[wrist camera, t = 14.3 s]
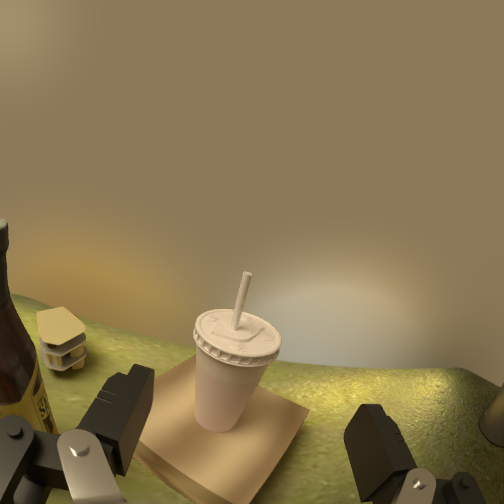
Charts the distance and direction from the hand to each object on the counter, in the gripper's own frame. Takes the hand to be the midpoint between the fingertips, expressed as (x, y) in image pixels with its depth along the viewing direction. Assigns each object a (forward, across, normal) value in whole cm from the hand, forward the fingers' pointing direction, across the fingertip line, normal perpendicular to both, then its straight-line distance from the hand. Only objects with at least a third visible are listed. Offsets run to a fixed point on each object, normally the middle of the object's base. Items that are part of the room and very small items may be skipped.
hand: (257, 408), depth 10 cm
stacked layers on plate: (+15, +20, +17) cm, 30 cm away
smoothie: (+10, +1, +12) cm, 16 cm away
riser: (+10, +1, +16) cm, 19 cm away
